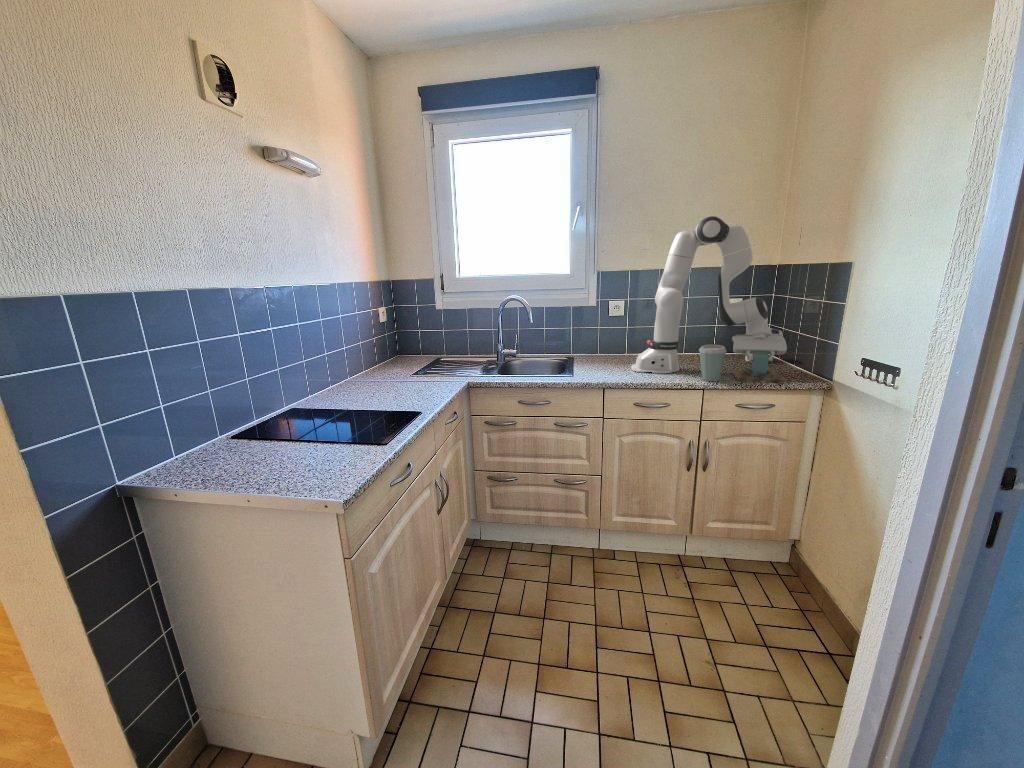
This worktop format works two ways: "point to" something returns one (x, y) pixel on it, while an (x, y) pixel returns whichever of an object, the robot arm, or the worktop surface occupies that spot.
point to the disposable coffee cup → (712, 361)
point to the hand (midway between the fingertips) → (760, 361)
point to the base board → (758, 376)
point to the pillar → (760, 363)
